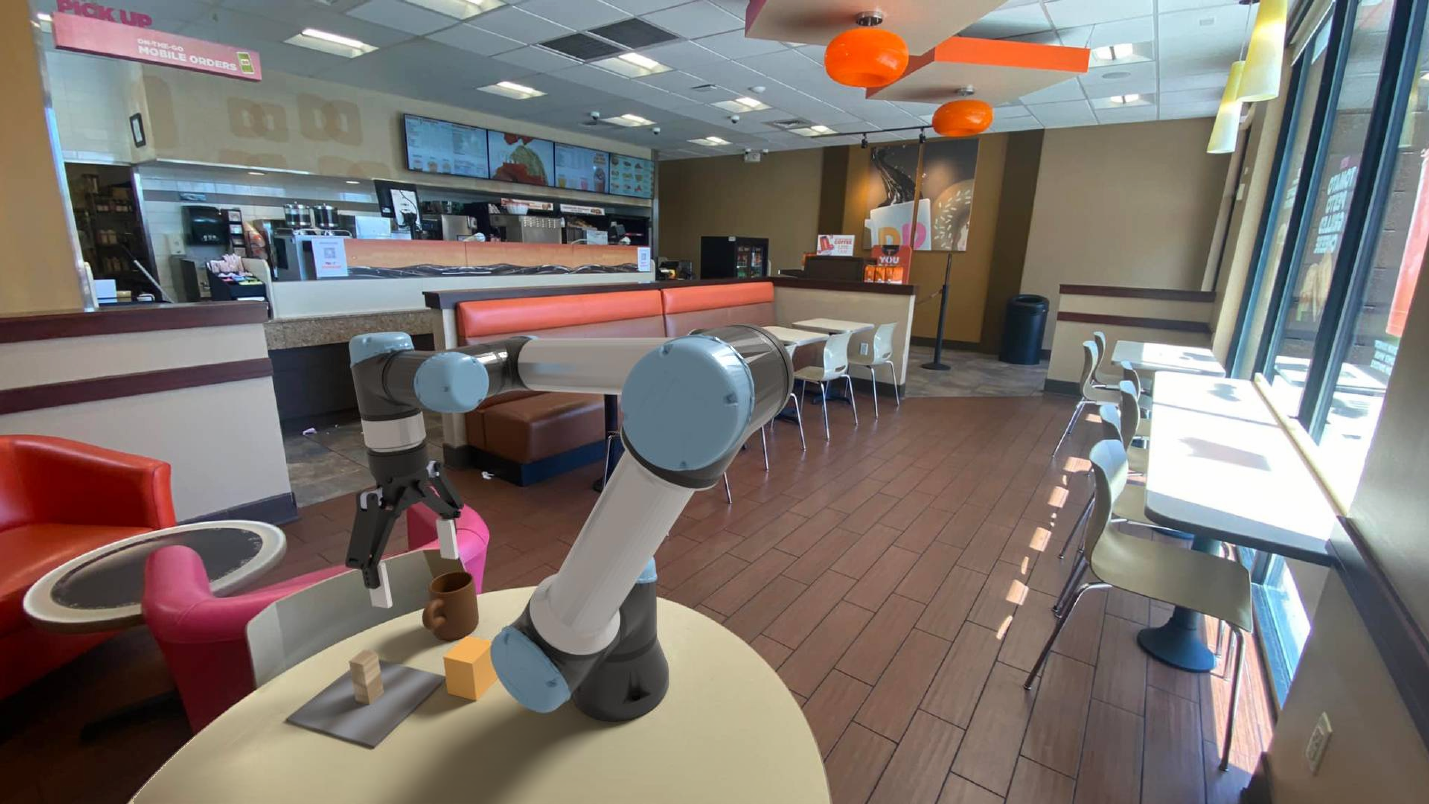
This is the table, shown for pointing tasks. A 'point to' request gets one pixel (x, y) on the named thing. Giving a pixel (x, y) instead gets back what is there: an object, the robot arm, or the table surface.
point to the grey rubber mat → (367, 700)
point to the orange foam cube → (469, 668)
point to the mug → (452, 605)
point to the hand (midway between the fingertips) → (418, 580)
